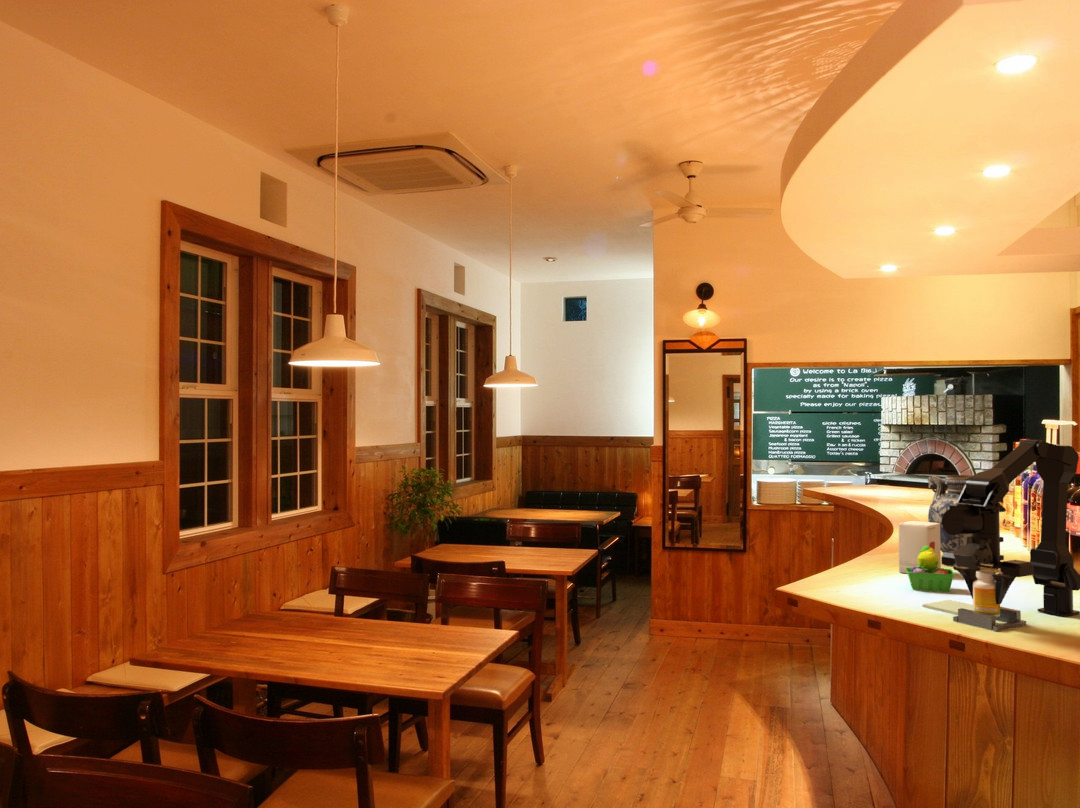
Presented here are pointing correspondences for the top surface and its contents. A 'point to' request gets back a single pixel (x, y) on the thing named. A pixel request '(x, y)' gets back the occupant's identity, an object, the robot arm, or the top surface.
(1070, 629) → the top surface
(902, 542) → the supplement box
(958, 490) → the decorative vase
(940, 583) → the fruit basket
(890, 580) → the top surface
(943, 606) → the pad
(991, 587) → the supplement bottle
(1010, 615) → the grey low square frame
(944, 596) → the top surface
